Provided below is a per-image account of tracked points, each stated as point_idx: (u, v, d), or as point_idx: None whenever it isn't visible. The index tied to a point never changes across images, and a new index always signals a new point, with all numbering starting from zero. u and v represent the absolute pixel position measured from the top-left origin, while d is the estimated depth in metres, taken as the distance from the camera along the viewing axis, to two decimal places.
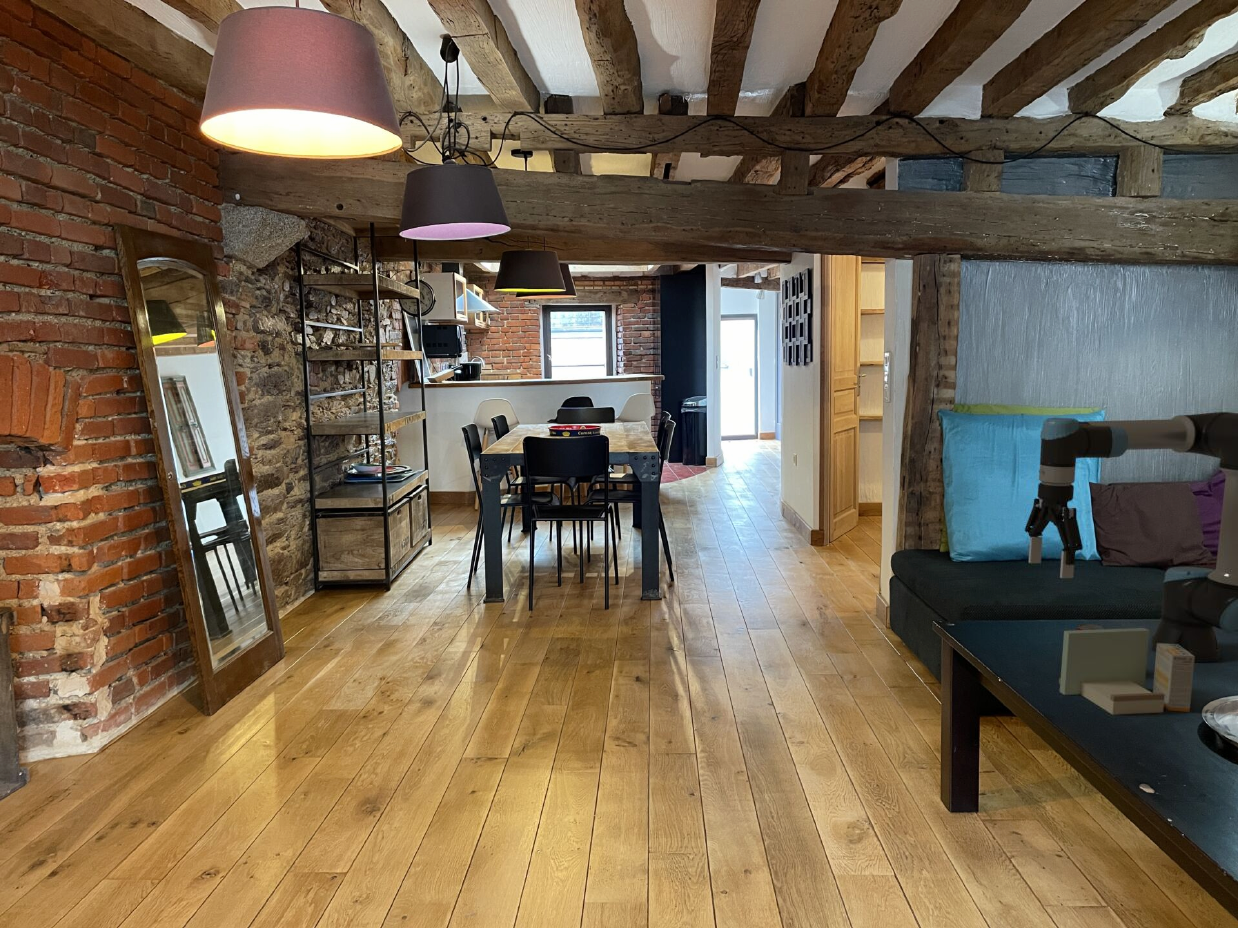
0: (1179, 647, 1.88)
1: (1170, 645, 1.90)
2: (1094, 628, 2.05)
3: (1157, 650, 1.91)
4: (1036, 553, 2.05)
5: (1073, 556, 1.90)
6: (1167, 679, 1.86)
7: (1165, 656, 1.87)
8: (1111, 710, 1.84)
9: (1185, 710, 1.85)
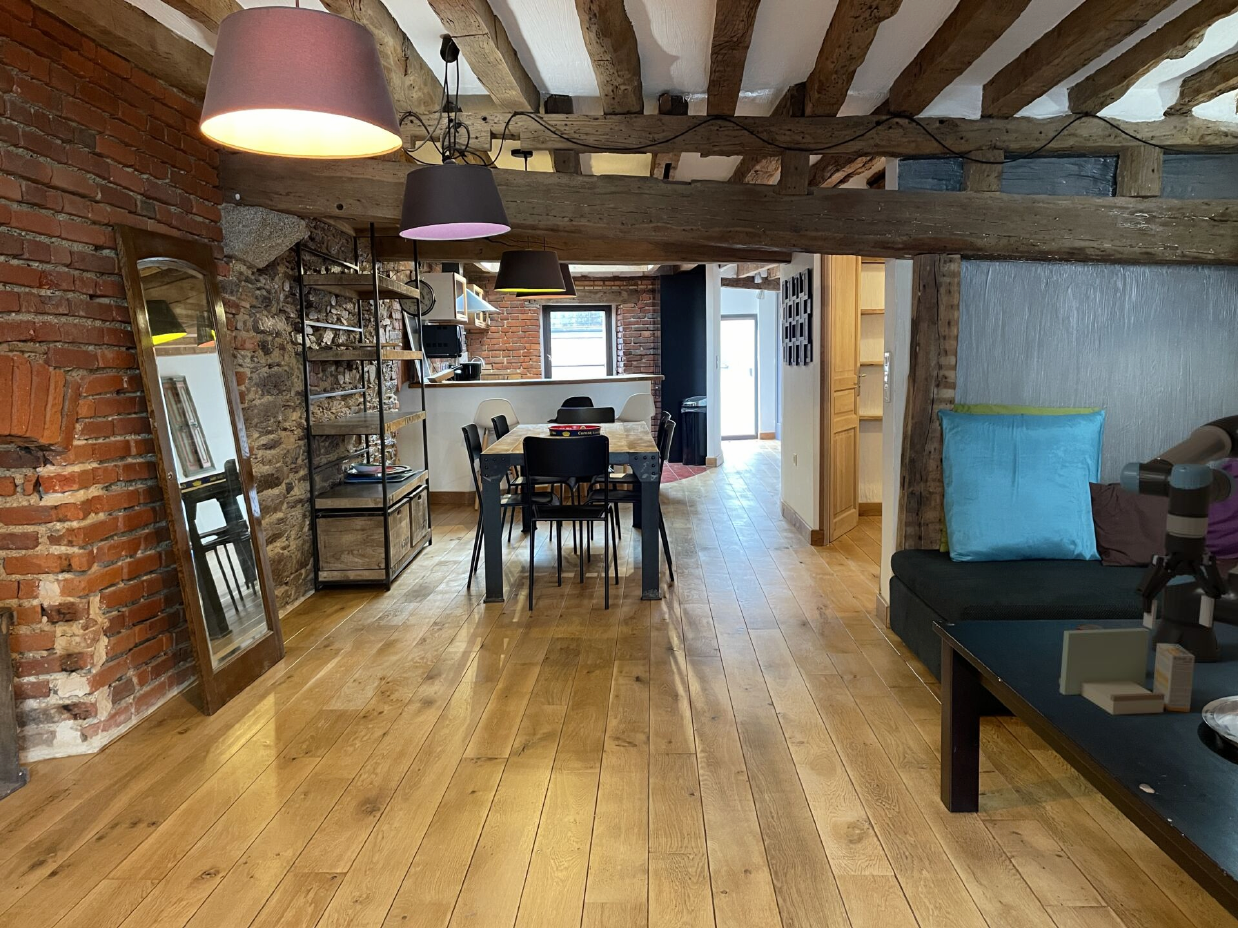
0: (1179, 647, 1.88)
1: (1170, 645, 1.90)
2: (1094, 628, 2.05)
3: (1157, 650, 1.91)
4: (1205, 614, 1.87)
5: (1145, 604, 1.85)
6: (1167, 679, 1.86)
7: (1165, 656, 1.87)
8: (1111, 710, 1.84)
9: (1185, 710, 1.85)
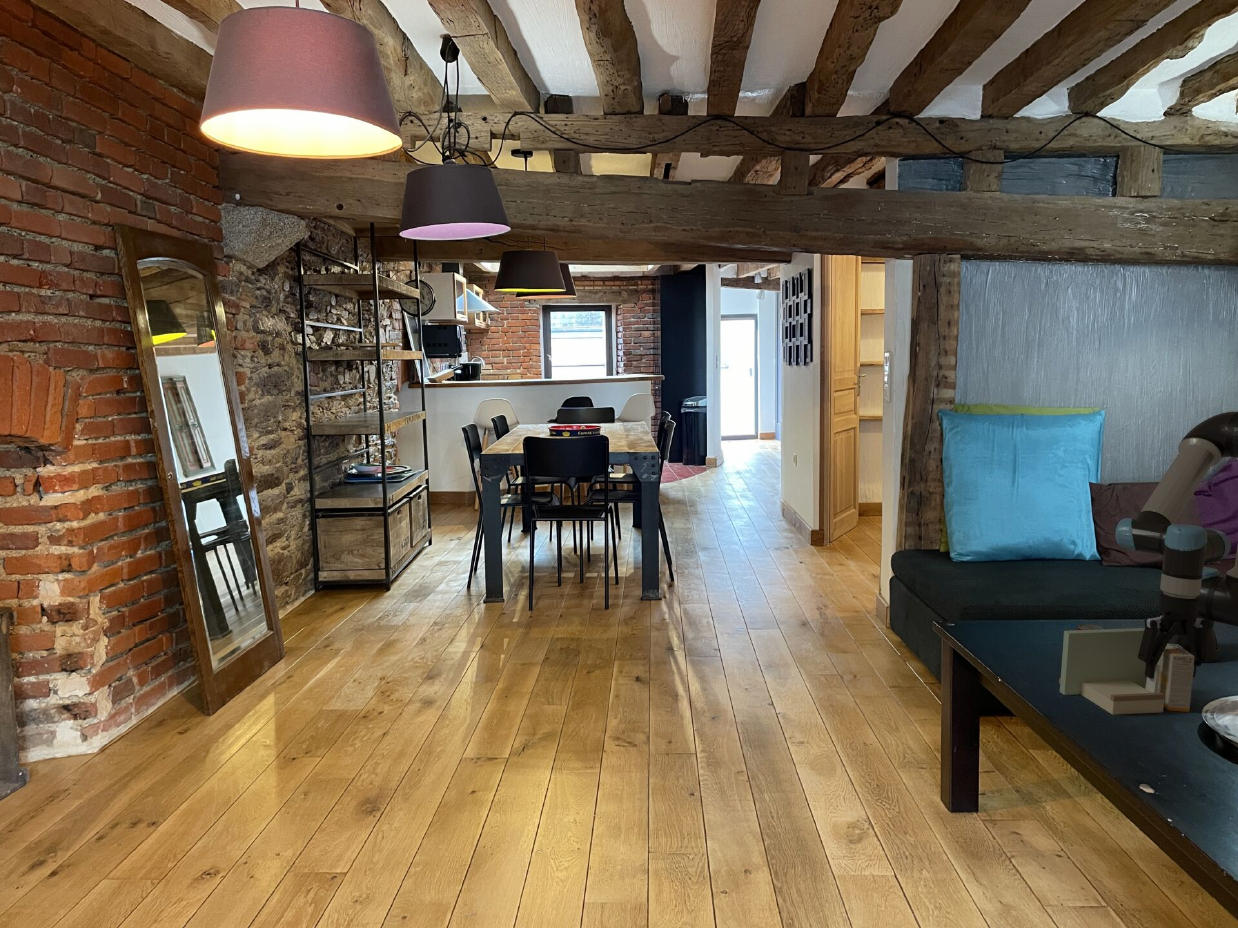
0: (1179, 647, 1.88)
1: (1170, 645, 1.90)
2: (1094, 628, 2.05)
3: None
4: None
5: (1148, 669, 1.87)
6: (1167, 679, 1.86)
7: (1165, 656, 1.87)
8: (1111, 710, 1.84)
9: (1185, 710, 1.85)
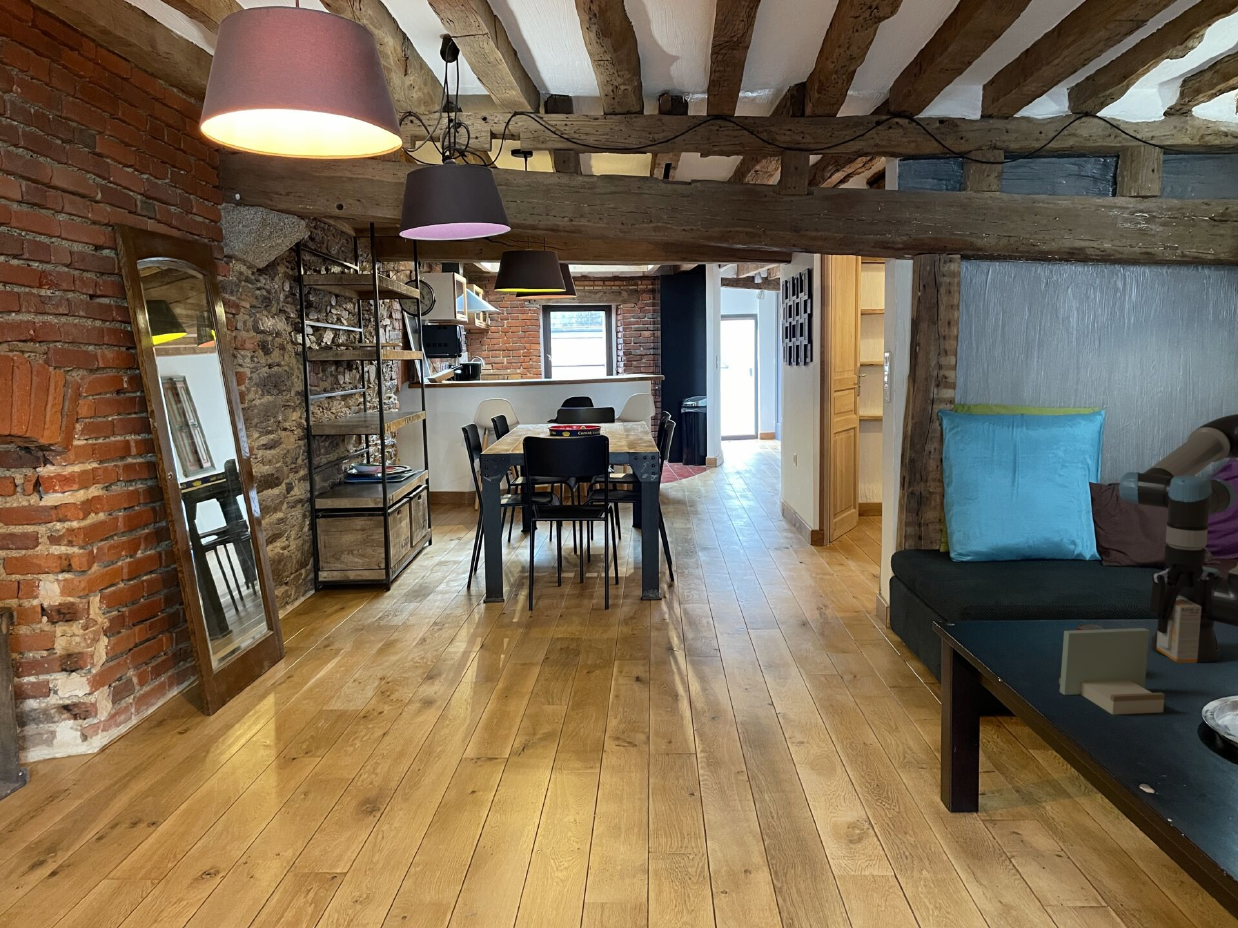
0: (1183, 598, 1.87)
1: None
2: (1094, 628, 2.05)
3: None
4: None
5: (1161, 623, 1.86)
6: (1174, 631, 1.84)
7: None
8: (1111, 710, 1.84)
9: (1193, 661, 1.84)
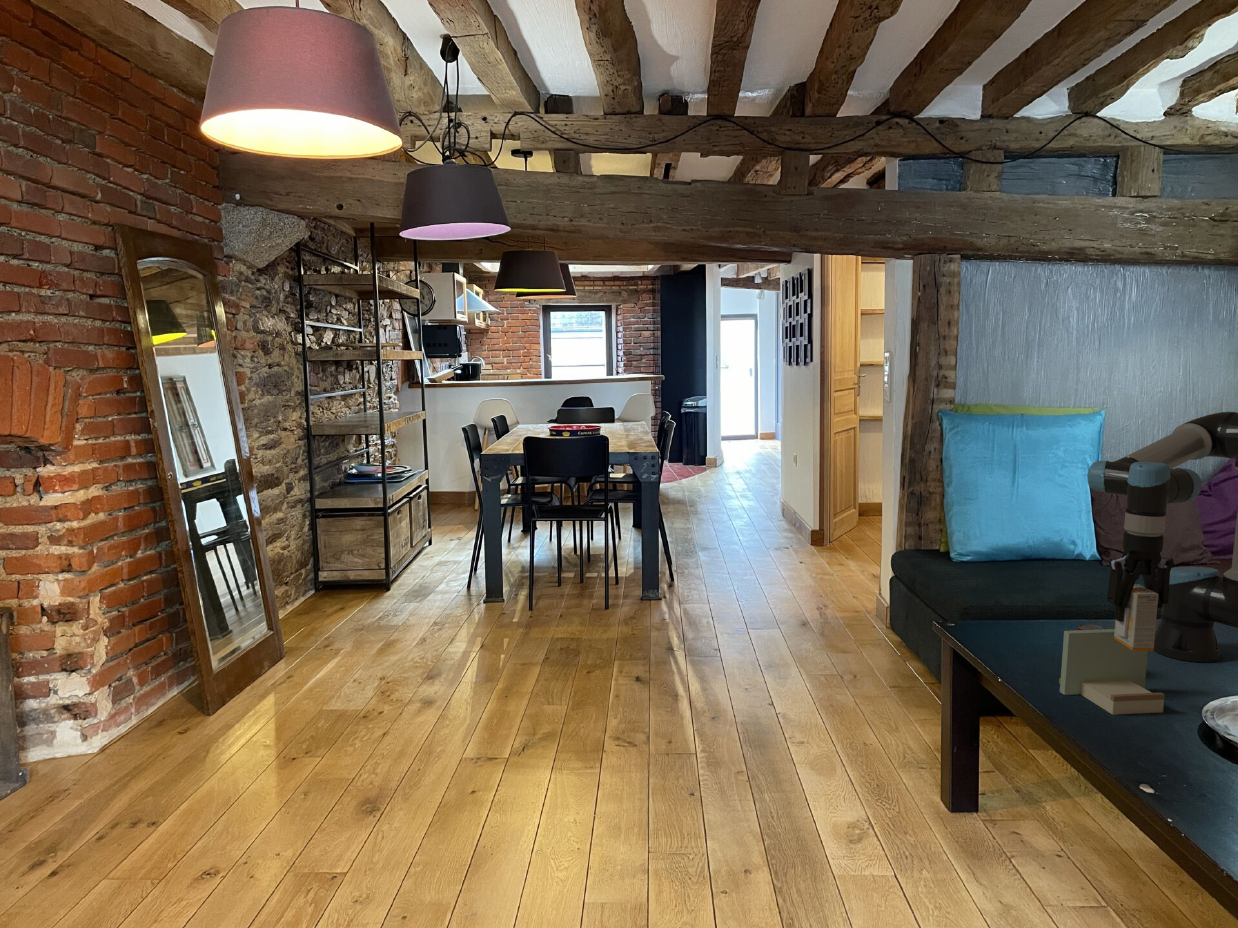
0: (1141, 586, 1.84)
1: None
2: (1094, 628, 2.05)
3: None
4: None
5: (1118, 611, 1.83)
6: (1131, 619, 1.81)
7: None
8: (1111, 710, 1.84)
9: (1149, 650, 1.81)
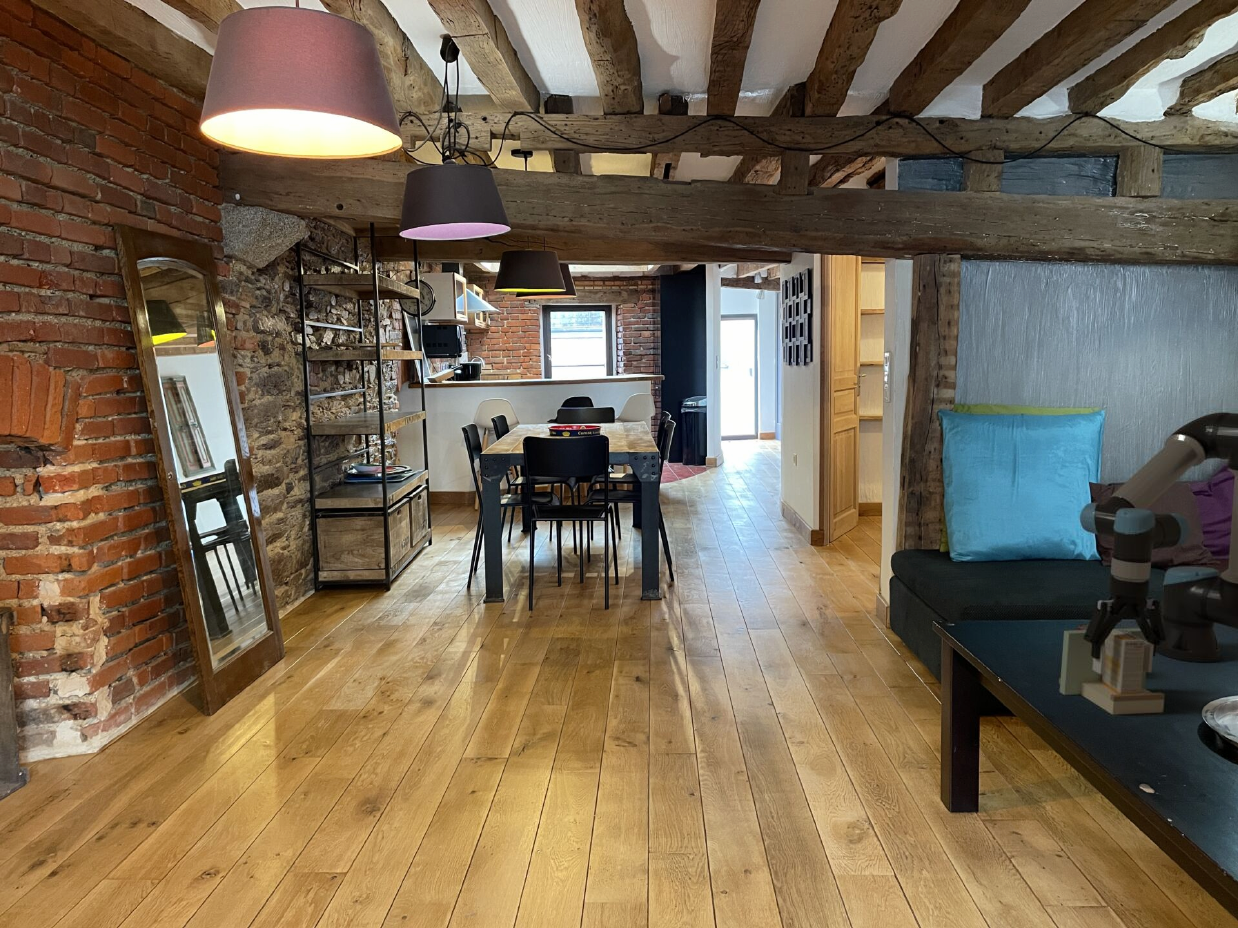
0: (1127, 632, 1.89)
1: (1119, 631, 1.91)
2: None
3: None
4: (1145, 659, 1.89)
5: (1094, 649, 1.87)
6: (1119, 665, 1.86)
7: (1116, 642, 1.87)
8: (1111, 710, 1.84)
9: None
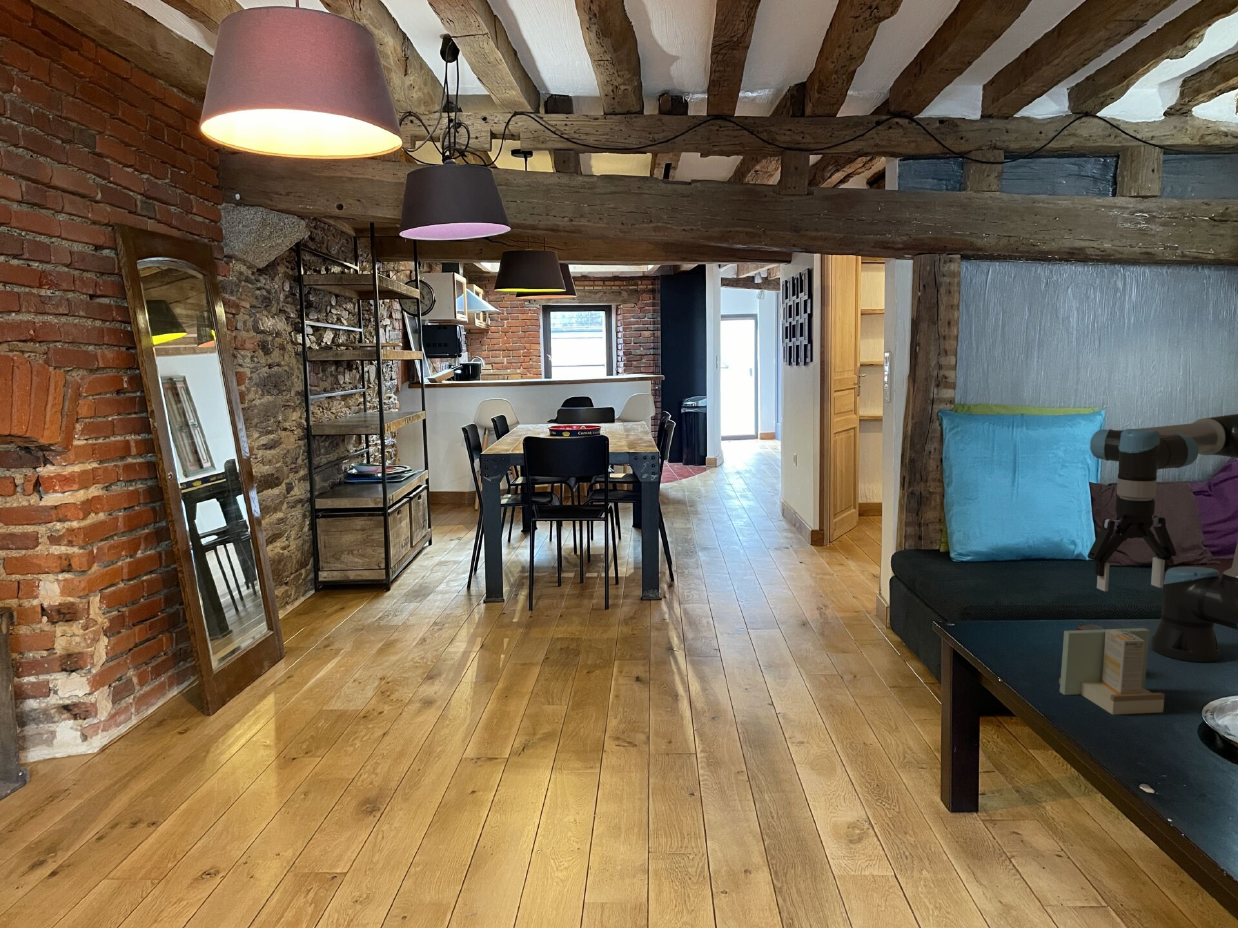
0: (1127, 632, 1.89)
1: (1118, 631, 1.91)
2: (1094, 628, 2.05)
3: (1106, 636, 1.91)
4: (1156, 575, 1.91)
5: (1098, 567, 1.88)
6: (1119, 665, 1.86)
7: (1116, 642, 1.87)
8: (1111, 710, 1.84)
9: None
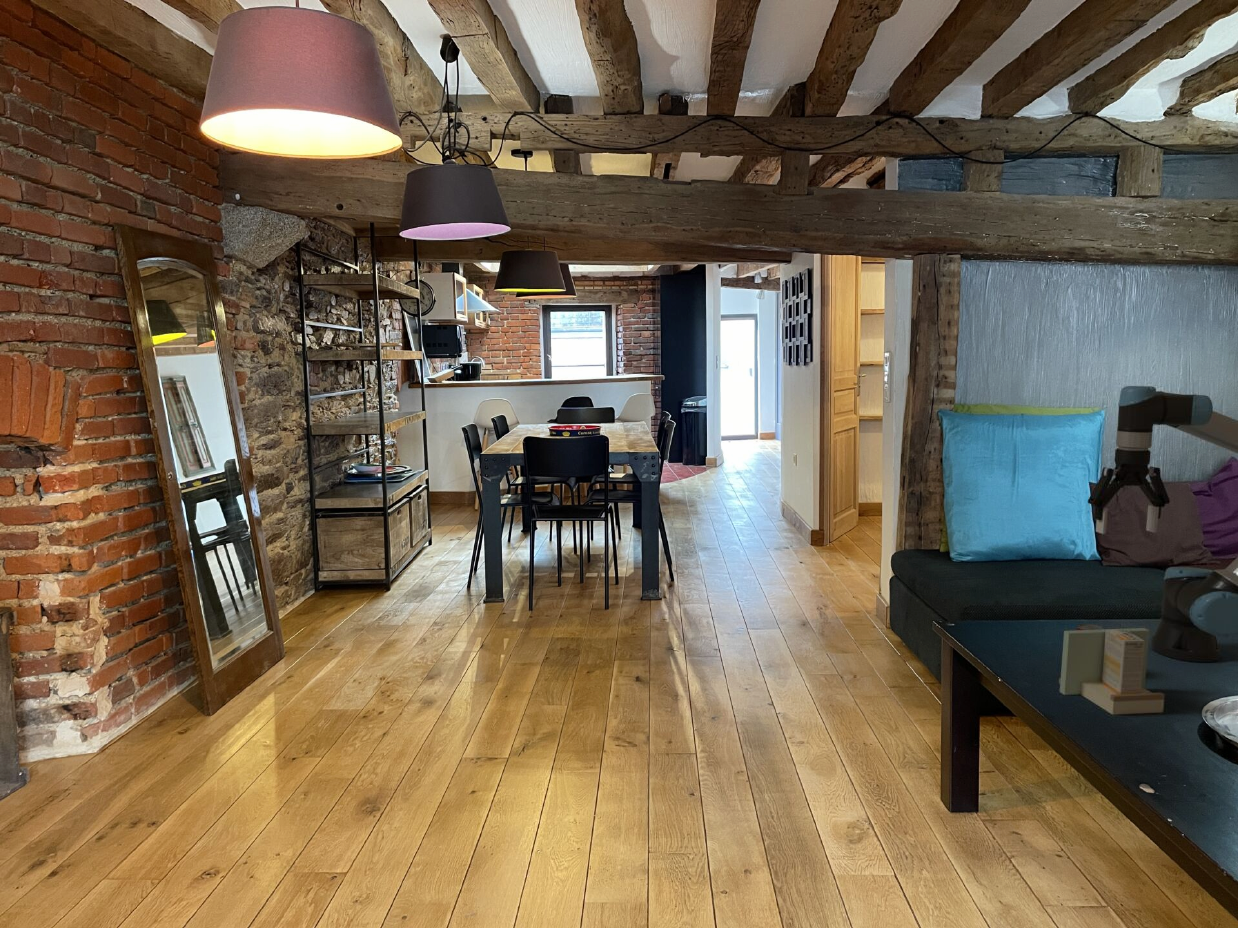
0: (1127, 632, 1.89)
1: (1119, 631, 1.91)
2: (1094, 628, 2.05)
3: (1106, 636, 1.91)
4: (1151, 521, 2.08)
5: (1097, 511, 2.06)
6: (1119, 665, 1.86)
7: (1116, 642, 1.87)
8: (1111, 710, 1.84)
9: None
